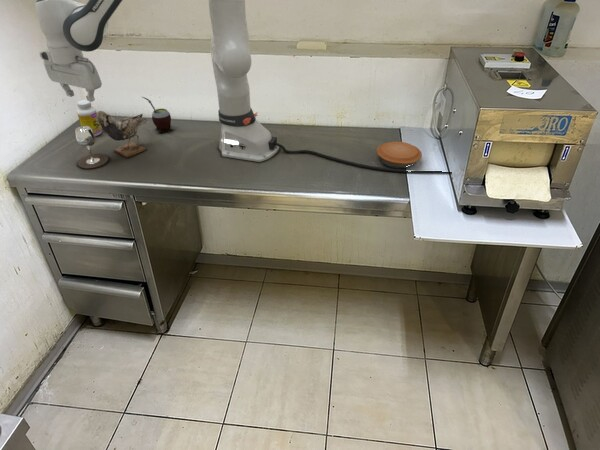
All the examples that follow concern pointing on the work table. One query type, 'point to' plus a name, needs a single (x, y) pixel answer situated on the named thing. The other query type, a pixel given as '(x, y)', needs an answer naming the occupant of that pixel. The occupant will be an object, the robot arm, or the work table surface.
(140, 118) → the stuffed bird
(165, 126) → the mate gourd
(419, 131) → the work table surface
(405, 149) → the pie
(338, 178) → the work table surface
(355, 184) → the work table surface
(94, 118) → the supplement bottle
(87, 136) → the wineglass
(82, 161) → the coaster
